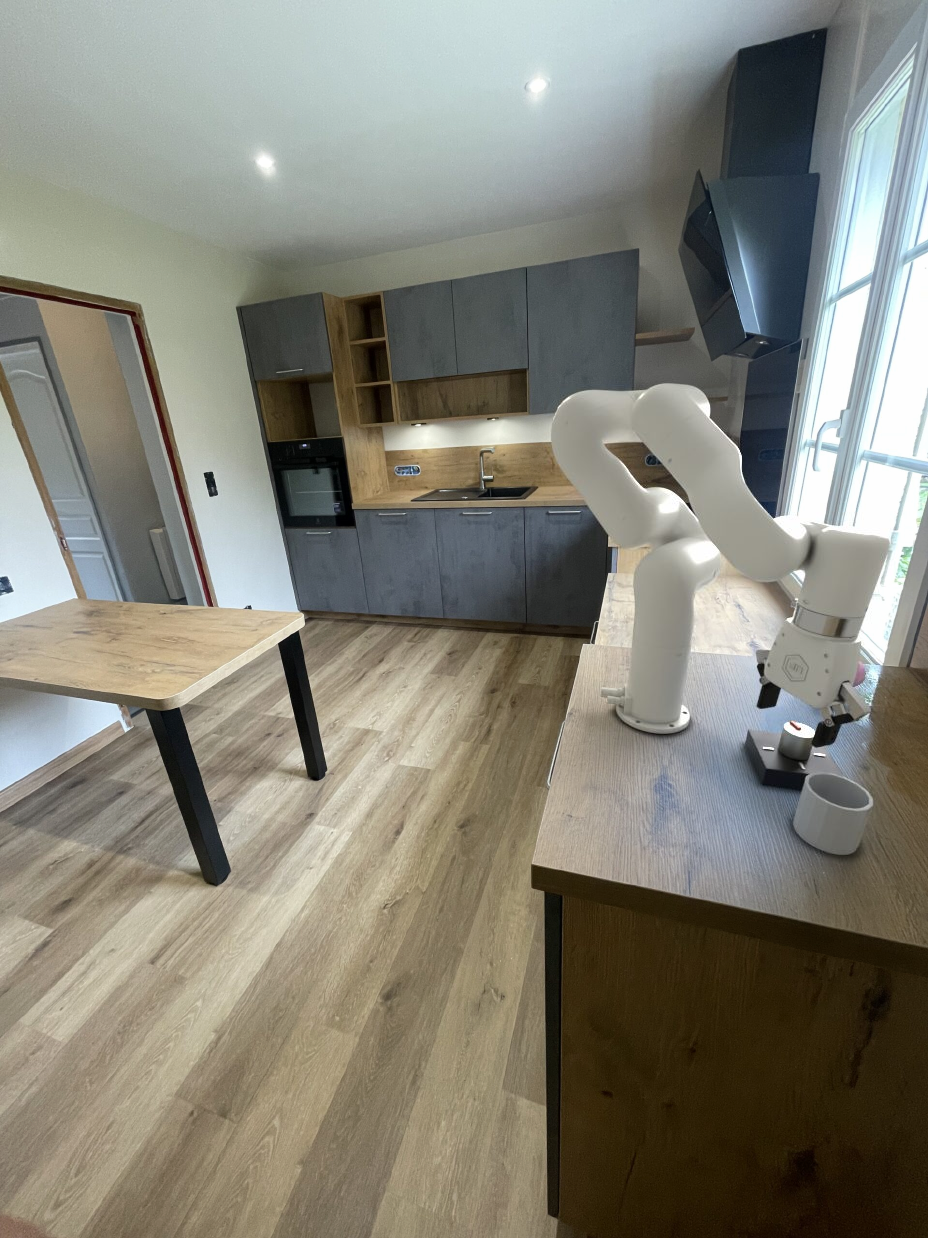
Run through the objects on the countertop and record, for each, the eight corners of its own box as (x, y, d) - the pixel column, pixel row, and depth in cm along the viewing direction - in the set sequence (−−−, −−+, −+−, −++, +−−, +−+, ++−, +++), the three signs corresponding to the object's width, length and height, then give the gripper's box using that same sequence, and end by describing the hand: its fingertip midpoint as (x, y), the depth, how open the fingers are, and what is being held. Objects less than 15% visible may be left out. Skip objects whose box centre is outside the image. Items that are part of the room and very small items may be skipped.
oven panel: (762, 785, 71) (766, 767, 70) (744, 744, 80) (748, 728, 79) (841, 796, 68) (847, 778, 67) (814, 753, 77) (818, 736, 76)
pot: (803, 849, 60) (817, 805, 58) (785, 810, 66) (797, 768, 64) (867, 860, 59) (884, 815, 56) (843, 819, 65) (857, 776, 62)
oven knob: (815, 760, 71) (822, 735, 70) (788, 760, 71) (794, 736, 70) (798, 743, 75) (805, 720, 73) (772, 744, 75) (778, 720, 73)
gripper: (753, 600, 72) (728, 697, 79) (868, 651, 57) (825, 767, 64) (793, 595, 74) (765, 691, 81) (916, 644, 59) (869, 758, 65)
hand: (791, 725), depth 72 cm, fingers open, 9 cm apart
